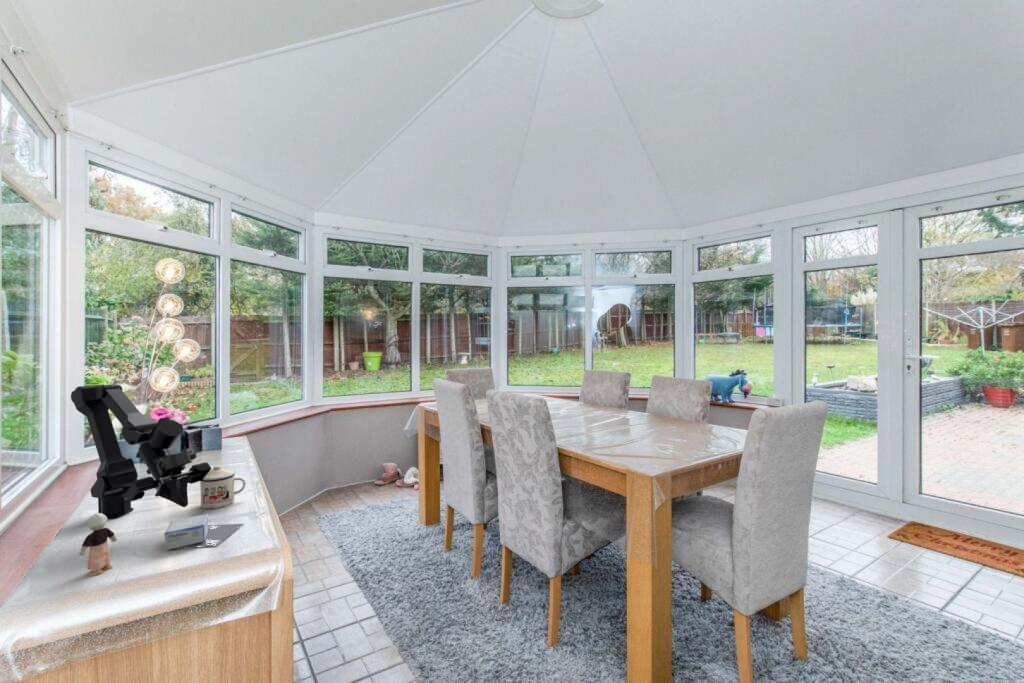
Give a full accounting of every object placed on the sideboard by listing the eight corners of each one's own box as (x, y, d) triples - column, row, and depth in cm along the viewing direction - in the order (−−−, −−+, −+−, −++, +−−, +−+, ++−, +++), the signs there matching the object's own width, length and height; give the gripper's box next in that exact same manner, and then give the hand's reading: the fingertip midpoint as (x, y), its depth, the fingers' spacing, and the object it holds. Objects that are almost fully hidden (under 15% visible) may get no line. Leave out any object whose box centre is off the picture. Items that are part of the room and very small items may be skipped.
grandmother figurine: (102, 563, 104) (101, 507, 104) (120, 562, 104) (119, 507, 104) (73, 581, 96) (71, 521, 96) (92, 580, 97) (91, 520, 97)
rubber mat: (178, 548, 111) (178, 547, 111) (208, 526, 124) (208, 525, 124) (217, 546, 112) (217, 545, 112) (243, 524, 125) (243, 523, 125)
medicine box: (172, 538, 117) (165, 551, 109) (170, 520, 117) (163, 532, 109) (209, 529, 121) (204, 542, 113) (207, 513, 121) (203, 524, 113)
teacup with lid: (197, 511, 135) (196, 472, 135) (202, 501, 143) (201, 464, 143) (244, 504, 140) (244, 466, 140) (247, 495, 148) (246, 459, 148)
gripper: (132, 448, 115) (161, 499, 111) (206, 433, 132) (233, 477, 128) (113, 476, 118) (141, 526, 114) (188, 458, 135) (214, 501, 131)
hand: (185, 505), depth 122 cm, fingers closed
